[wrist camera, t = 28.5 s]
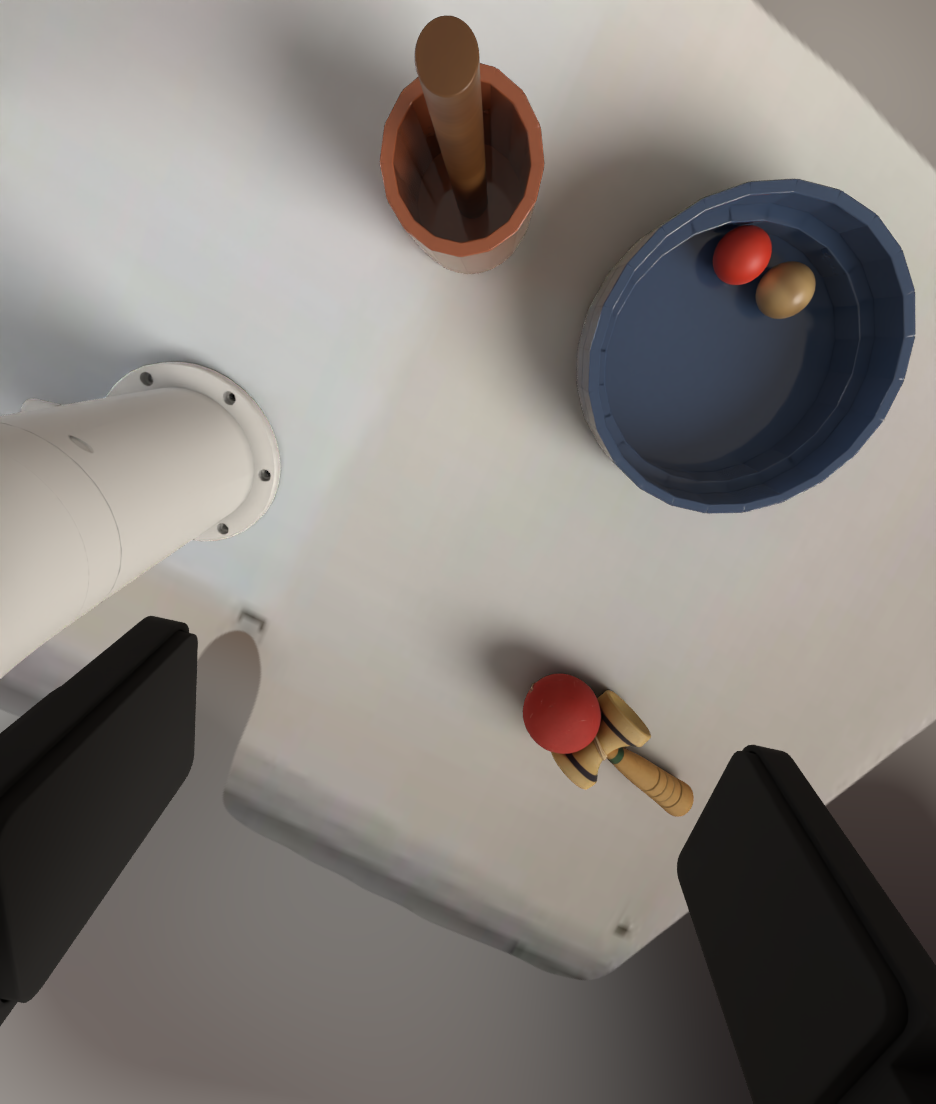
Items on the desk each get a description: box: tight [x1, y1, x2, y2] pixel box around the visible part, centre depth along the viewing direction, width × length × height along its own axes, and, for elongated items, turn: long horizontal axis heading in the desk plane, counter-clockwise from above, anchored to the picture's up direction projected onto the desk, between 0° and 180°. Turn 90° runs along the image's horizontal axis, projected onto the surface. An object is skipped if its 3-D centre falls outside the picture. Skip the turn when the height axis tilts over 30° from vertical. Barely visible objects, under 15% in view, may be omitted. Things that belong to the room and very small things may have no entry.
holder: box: [380, 63, 544, 274], centre depth 28 cm, size 7×7×9 cm
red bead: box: [713, 225, 772, 285], centre depth 31 cm, size 3×3×3 cm
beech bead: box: [756, 261, 816, 319], centre depth 31 cm, size 3×3×3 cm
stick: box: [415, 16, 488, 219], centre depth 23 cm, size 2×2×18 cm
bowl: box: [577, 179, 915, 513], centre depth 32 cm, size 17×17×6 cm
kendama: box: [523, 674, 693, 816], centre depth 44 cm, size 8×6×18 cm
